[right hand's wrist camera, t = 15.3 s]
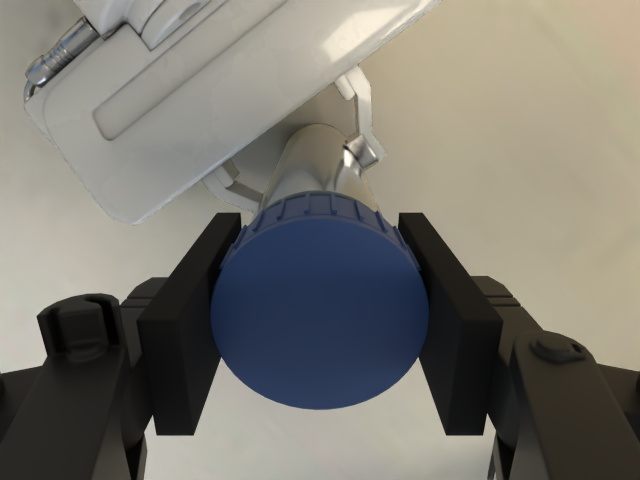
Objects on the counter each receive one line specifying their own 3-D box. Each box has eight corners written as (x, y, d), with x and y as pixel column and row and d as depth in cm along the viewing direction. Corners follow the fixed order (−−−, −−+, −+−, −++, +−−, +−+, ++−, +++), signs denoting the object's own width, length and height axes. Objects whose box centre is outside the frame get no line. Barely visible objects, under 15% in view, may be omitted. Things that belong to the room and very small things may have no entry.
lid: (186, 247, 11) (160, 280, 10) (365, 156, 11) (375, 172, 9) (282, 388, 13) (276, 440, 11) (443, 319, 12) (466, 363, 10)
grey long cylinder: (365, 140, 28) (442, 252, 11) (336, 204, 30) (362, 393, 12) (298, 112, 28) (262, 179, 10) (273, 178, 29) (202, 340, 11)
